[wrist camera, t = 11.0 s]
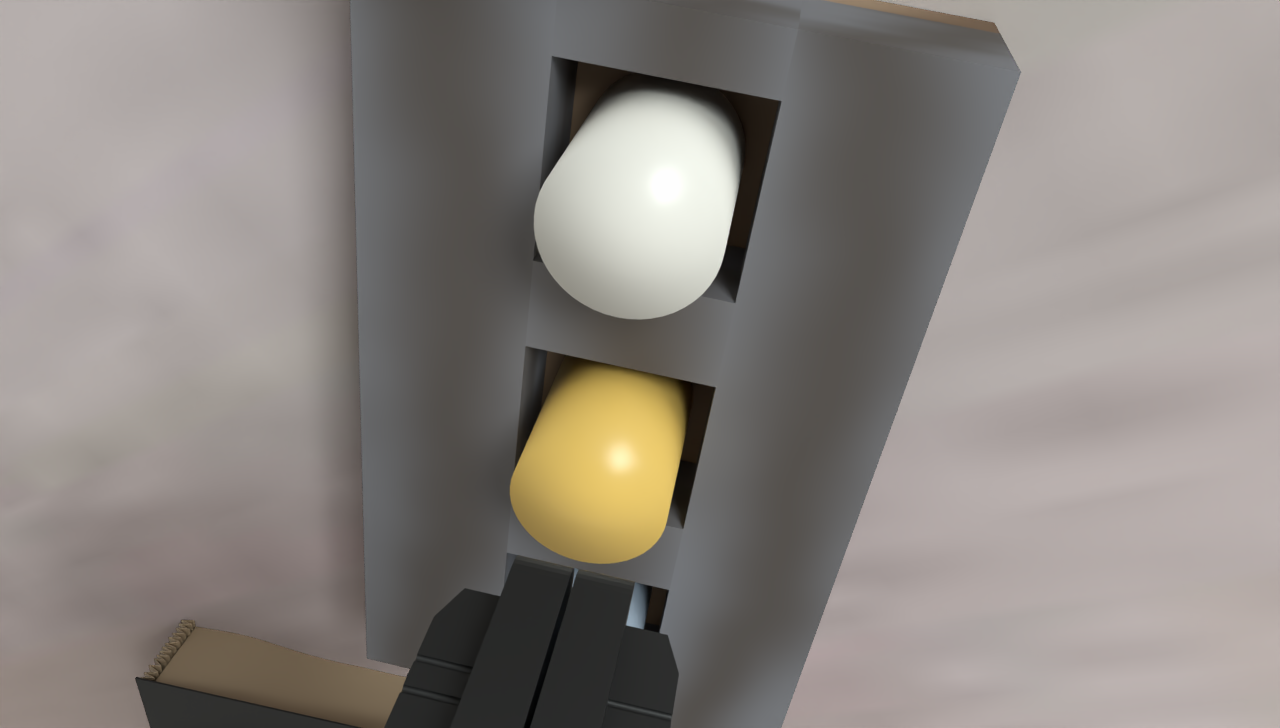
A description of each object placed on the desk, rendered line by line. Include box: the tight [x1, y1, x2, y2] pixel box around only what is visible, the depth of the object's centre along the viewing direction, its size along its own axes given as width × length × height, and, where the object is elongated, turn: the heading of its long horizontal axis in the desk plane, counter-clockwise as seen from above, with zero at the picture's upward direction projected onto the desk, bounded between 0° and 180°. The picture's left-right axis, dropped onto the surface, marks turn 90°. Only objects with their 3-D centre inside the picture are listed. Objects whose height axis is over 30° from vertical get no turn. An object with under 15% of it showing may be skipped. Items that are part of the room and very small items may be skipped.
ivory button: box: [534, 72, 745, 319], centre depth 22 cm, size 4×4×5 cm
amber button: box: [510, 355, 693, 564], centre depth 26 cm, size 4×4×5 cm
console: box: [350, 0, 1021, 728], centre depth 28 cm, size 14×23×4 cm, turn 172°
